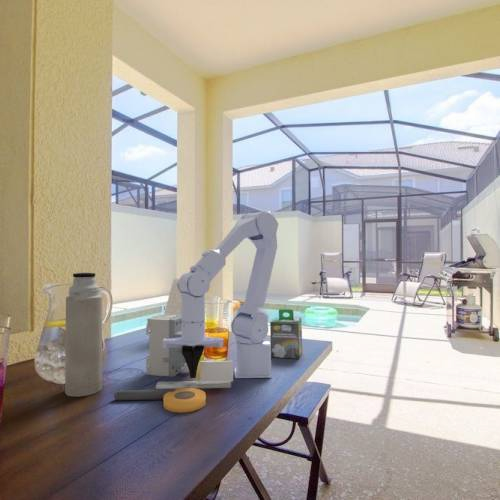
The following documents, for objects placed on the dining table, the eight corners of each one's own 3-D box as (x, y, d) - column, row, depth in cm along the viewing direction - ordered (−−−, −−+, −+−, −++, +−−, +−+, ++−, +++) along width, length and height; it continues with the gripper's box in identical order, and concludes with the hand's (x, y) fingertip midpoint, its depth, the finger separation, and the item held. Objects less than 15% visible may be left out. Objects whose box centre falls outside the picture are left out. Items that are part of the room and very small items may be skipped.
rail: (231, 384, 93) (231, 380, 93) (231, 387, 90) (231, 383, 90) (157, 385, 92) (157, 381, 92) (155, 389, 89) (155, 385, 89)
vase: (154, 341, 139) (154, 280, 140) (172, 332, 156) (172, 277, 157) (199, 343, 136) (199, 280, 137) (212, 333, 154) (212, 277, 154)
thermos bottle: (83, 383, 94) (83, 271, 94) (109, 386, 91) (109, 272, 92) (57, 394, 86) (58, 273, 87) (84, 398, 84) (85, 273, 84)
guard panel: (233, 380, 92) (233, 360, 92) (233, 381, 91) (233, 361, 91) (200, 380, 91) (200, 361, 92) (200, 381, 91) (200, 362, 91)
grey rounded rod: (178, 397, 84) (178, 388, 84) (176, 400, 82) (176, 391, 82) (115, 398, 84) (115, 389, 84) (112, 401, 82) (112, 392, 82)
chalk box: (302, 352, 124) (302, 307, 124) (299, 359, 115) (299, 311, 115) (275, 350, 126) (274, 306, 126) (269, 357, 117) (269, 310, 117)
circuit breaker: (196, 378, 98) (196, 320, 98) (146, 374, 100) (146, 319, 101) (205, 369, 105) (205, 316, 105) (158, 366, 108) (158, 314, 108)
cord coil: (207, 395, 85) (207, 387, 85) (204, 411, 76) (204, 402, 76) (167, 396, 85) (167, 388, 85) (159, 413, 76) (159, 403, 76)
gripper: (160, 324, 87) (160, 383, 87) (222, 323, 88) (222, 381, 87) (165, 319, 94) (165, 373, 94) (223, 318, 95) (223, 372, 94)
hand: (193, 376), depth 91 cm, fingers closed
